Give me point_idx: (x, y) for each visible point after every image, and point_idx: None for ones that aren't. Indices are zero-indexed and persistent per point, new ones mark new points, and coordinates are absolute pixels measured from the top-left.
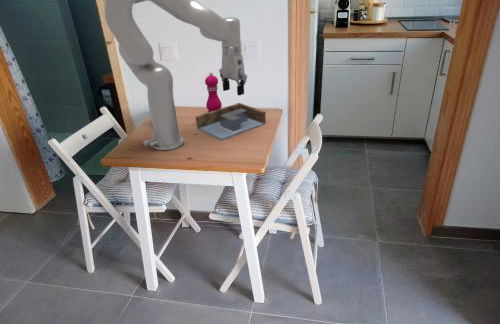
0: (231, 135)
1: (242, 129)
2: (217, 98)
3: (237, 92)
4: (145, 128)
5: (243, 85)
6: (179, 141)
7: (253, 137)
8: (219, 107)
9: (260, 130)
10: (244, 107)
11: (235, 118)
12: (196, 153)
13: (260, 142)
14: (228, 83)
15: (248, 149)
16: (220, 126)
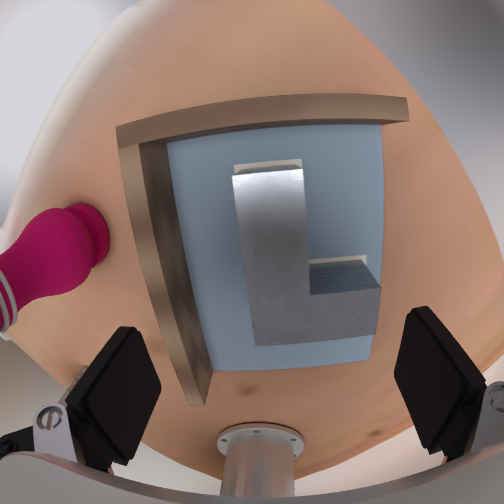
0: None
1: (367, 255)
2: (45, 256)
3: (409, 396)
4: None
5: (477, 378)
6: (285, 439)
7: (442, 258)
8: (87, 238)
9: (419, 186)
10: (206, 130)
11: (363, 310)
12: (369, 421)
13: (479, 264)
14: (110, 393)
15: (472, 320)
16: None
